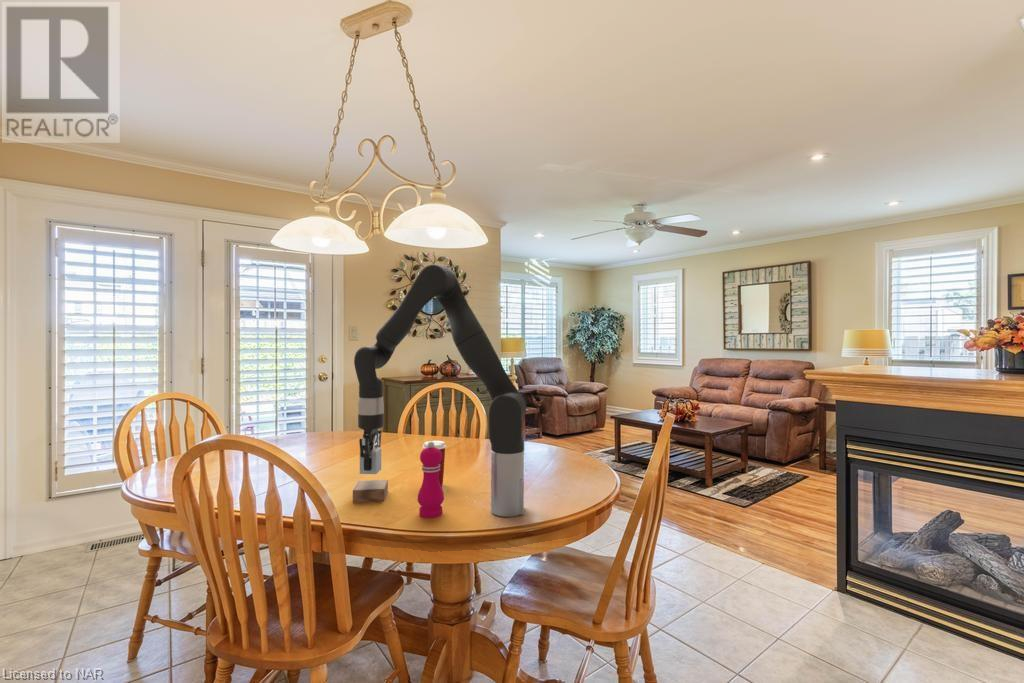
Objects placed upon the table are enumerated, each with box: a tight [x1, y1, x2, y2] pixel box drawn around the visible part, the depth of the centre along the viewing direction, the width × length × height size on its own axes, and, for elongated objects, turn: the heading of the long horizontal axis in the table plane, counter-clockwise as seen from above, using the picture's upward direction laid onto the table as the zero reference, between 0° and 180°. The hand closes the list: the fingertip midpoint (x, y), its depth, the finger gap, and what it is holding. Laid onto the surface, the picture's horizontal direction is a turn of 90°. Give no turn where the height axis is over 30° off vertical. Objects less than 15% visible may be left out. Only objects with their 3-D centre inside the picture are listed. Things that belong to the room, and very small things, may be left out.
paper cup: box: [422, 440, 447, 487], centre depth 159 cm, size 8×8×14 cm
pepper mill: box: [417, 442, 445, 519], centre depth 134 cm, size 7×7×20 cm
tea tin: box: [359, 446, 382, 475], centre depth 147 cm, size 5×5×7 cm
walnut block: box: [352, 479, 389, 503], centre depth 148 cm, size 9×9×4 cm
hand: (370, 467), depth 147 cm, fingers closed on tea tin, 5 cm apart
